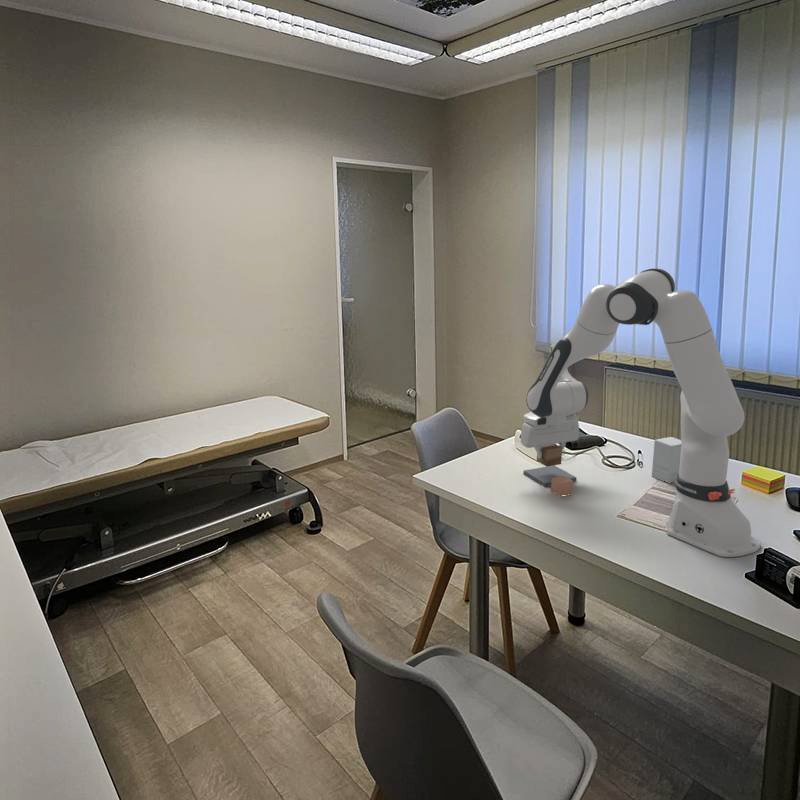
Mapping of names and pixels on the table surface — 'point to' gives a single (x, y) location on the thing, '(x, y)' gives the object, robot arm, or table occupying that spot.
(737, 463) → the table surface
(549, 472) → the board
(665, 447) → the supplement box
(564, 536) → the table surface
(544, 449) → the walnut block
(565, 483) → the terracotta block
